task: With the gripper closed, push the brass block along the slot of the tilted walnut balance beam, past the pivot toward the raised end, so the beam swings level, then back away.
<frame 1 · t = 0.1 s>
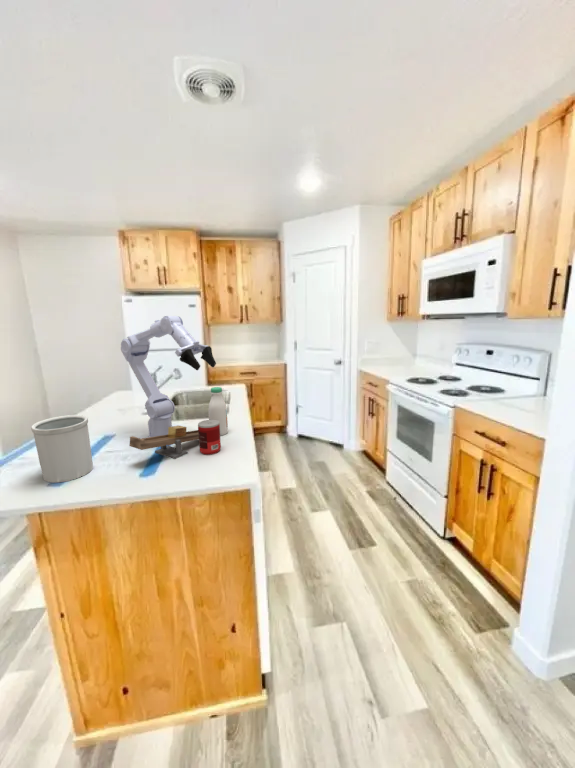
hand: (206, 366, 118), 32 cm above the countertop, tool tilted 50°, fingers open, 7 cm apart
beam: (174, 436, 124), point 6 cm above the countertop, hinge at -10.4°, touching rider
utensil holder: (68, 473, 108), on the countertop
canned food: (210, 451, 125), on the countertop
milk bottle: (218, 433, 144), on the countertop
stand: (171, 453, 123), on the countertop
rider: (176, 437, 125), point 5 cm above the countertop, tilted 10°, touching beam
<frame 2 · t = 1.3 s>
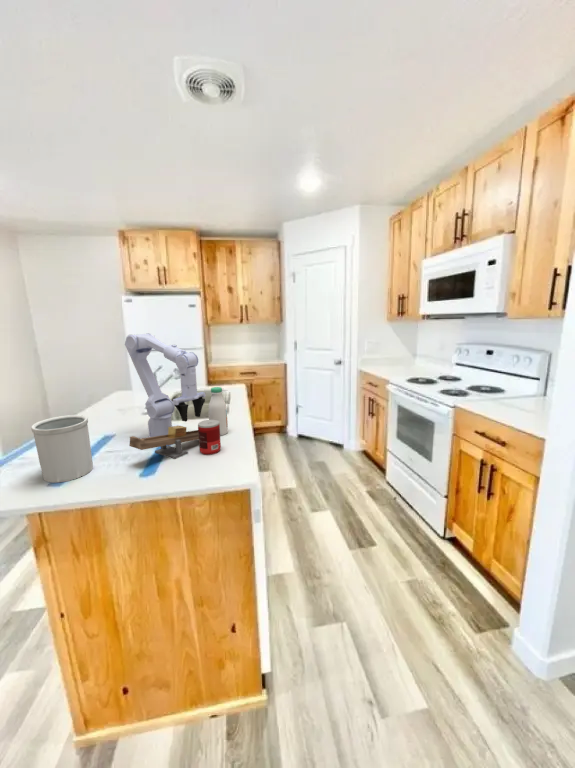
hand: (191, 418, 130), 10 cm above the countertop, tool pointing down, fingers open, 6 cm apart
nothing on the countertop moved.
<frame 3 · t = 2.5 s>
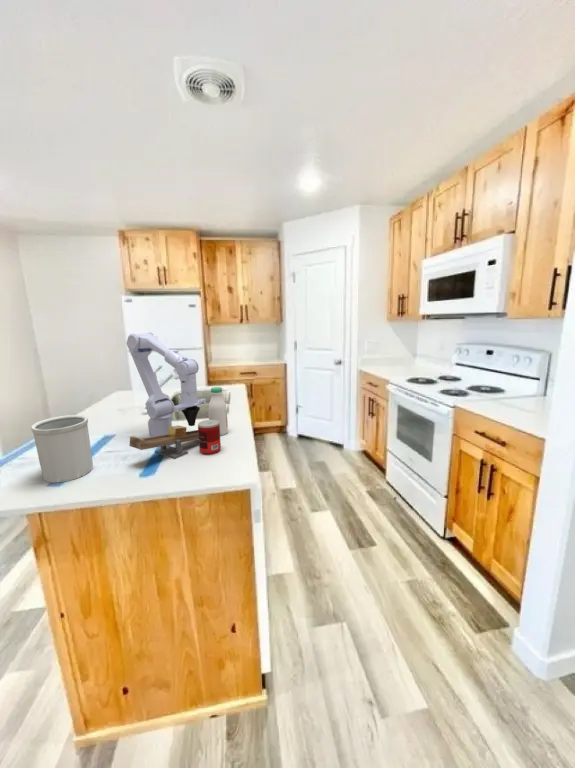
hand: (191, 425, 130), 8 cm above the countertop, tool pointing down, fingers closed
nothing on the countertop moved.
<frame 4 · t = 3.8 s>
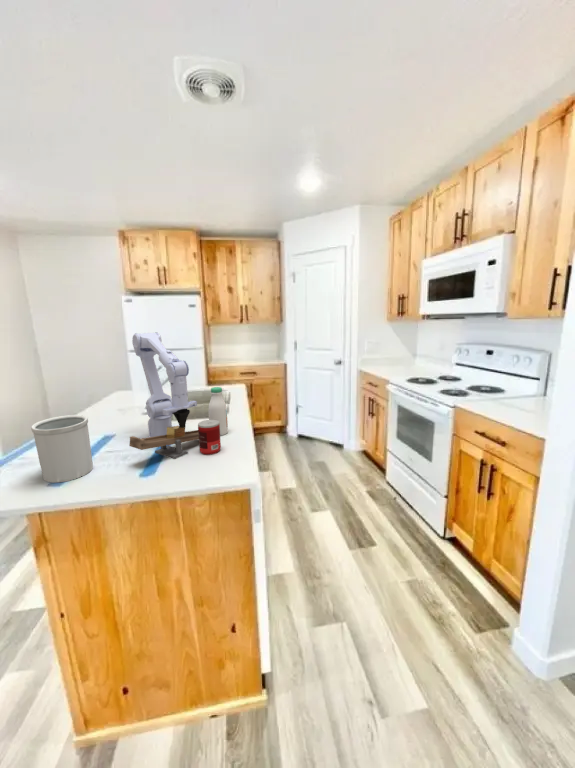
hand: (182, 428, 127), 8 cm above the countertop, tool pointing down, fingers closed, pressing on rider
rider: (175, 437, 124), point 5 cm above the countertop, tilted 10°, touching beam, gripper
everything else where it was.
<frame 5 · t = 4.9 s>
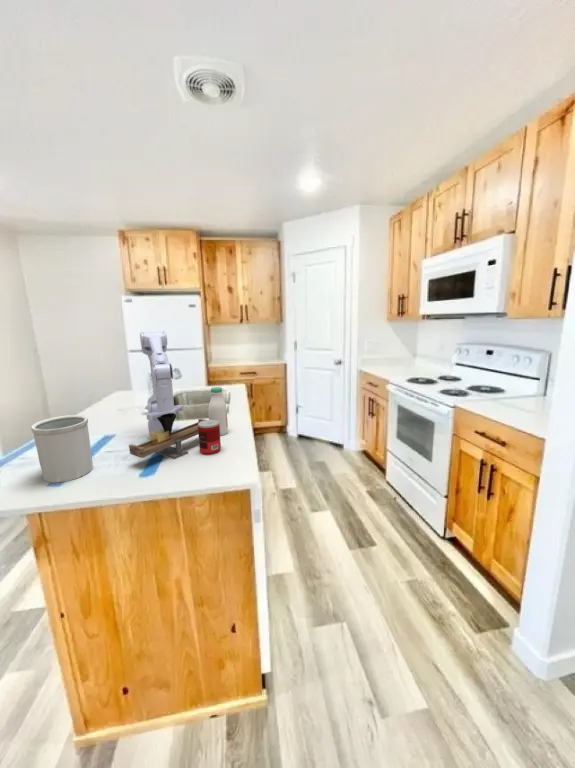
hand: (168, 433, 121), 8 cm above the countertop, tool pointing down, fingers closed
beam: (174, 436, 124), point 6 cm above the countertop, hinge at 1.1°, touching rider
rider: (160, 442, 119), point 6 cm above the countertop, touching beam, gripper
everything else where it was.
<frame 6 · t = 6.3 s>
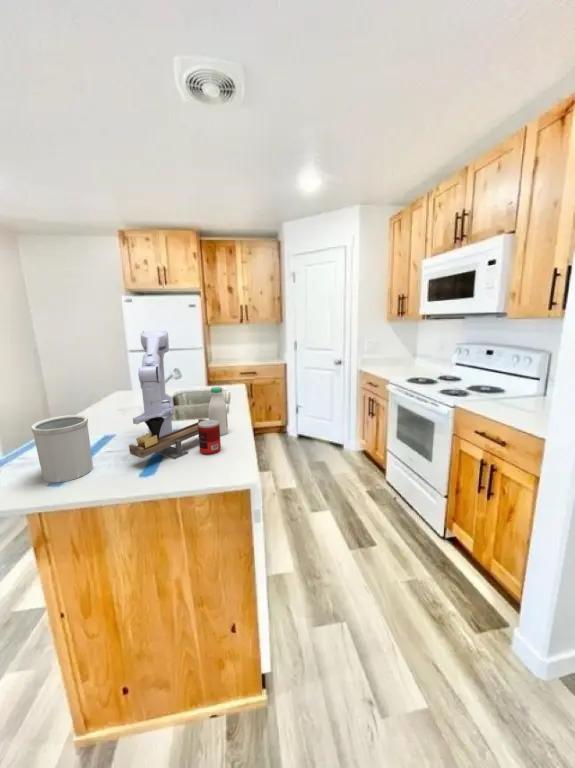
hand: (155, 438, 117), 8 cm above the countertop, tool pointing down, fingers closed
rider: (148, 447, 115), point 5 cm above the countertop, touching beam, gripper
everything else where it was.
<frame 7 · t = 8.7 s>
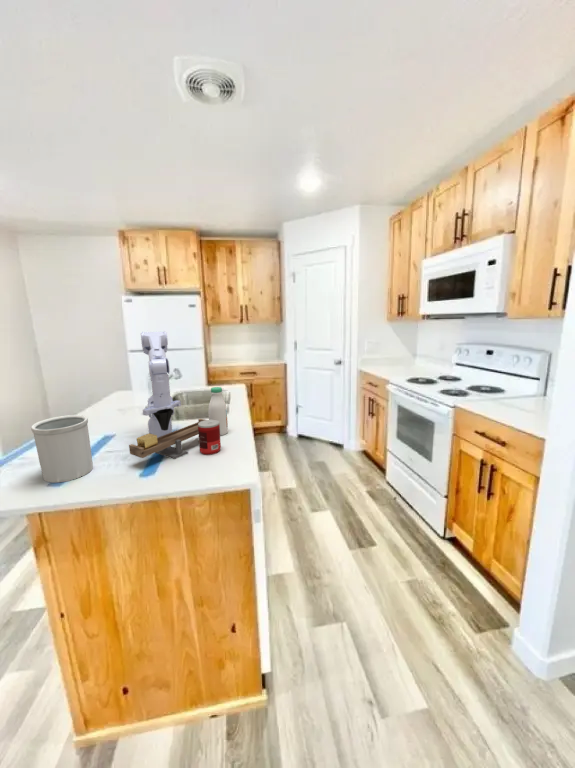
hand: (164, 429, 120), 10 cm above the countertop, tool pointing down, fingers closed
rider: (148, 447, 115), point 5 cm above the countertop, touching beam
everything else where it was.
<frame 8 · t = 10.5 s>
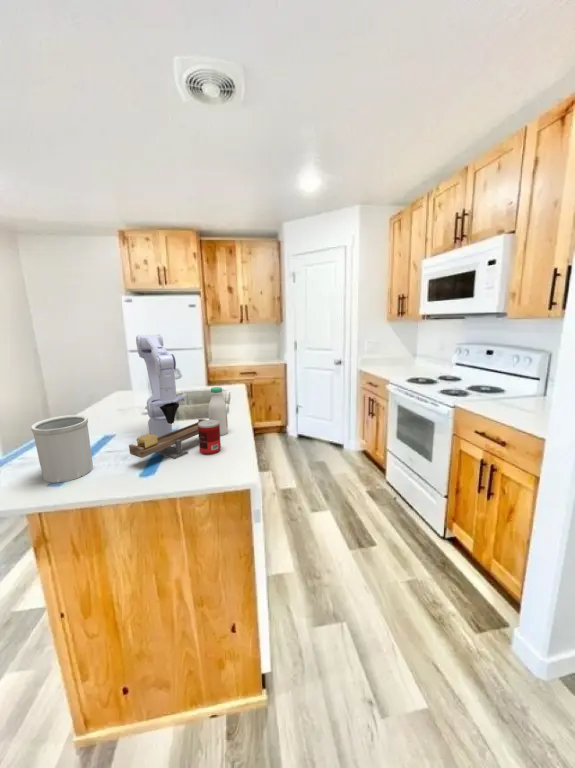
hand: (170, 423, 125), 10 cm above the countertop, tool pointing down, fingers closed
nothing on the countertop moved.
at the end: beam at +1° (first picture: -10°); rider 0.1 cm from the target spot on the beam, point 0.4 cm above the beam's base; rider tilted 1° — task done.
